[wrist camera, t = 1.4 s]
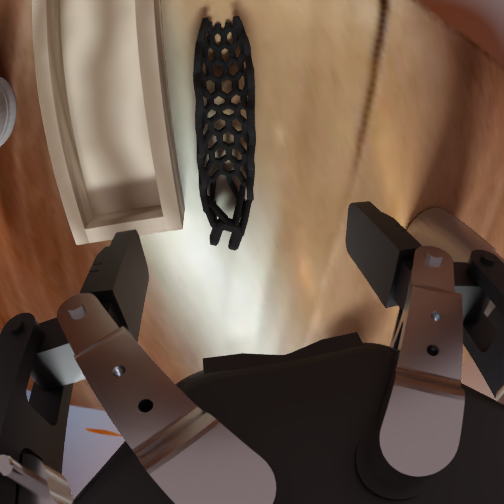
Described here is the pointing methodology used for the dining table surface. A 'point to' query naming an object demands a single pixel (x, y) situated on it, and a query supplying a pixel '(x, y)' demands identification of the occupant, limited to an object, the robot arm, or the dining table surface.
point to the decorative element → (246, 132)
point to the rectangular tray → (107, 115)
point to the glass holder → (6, 110)
